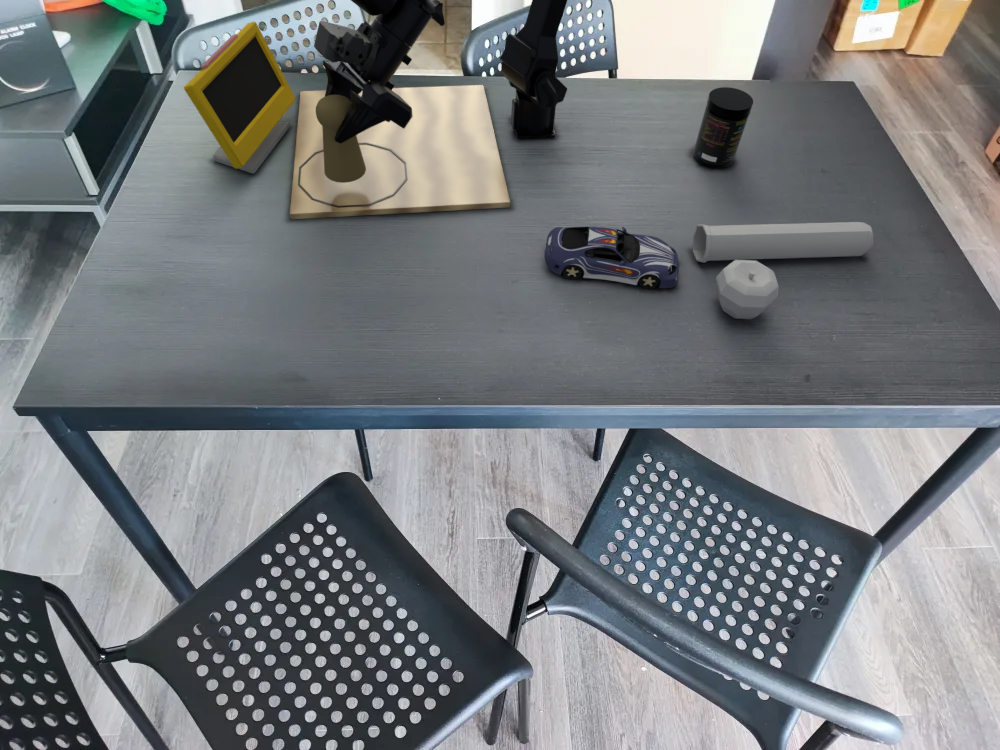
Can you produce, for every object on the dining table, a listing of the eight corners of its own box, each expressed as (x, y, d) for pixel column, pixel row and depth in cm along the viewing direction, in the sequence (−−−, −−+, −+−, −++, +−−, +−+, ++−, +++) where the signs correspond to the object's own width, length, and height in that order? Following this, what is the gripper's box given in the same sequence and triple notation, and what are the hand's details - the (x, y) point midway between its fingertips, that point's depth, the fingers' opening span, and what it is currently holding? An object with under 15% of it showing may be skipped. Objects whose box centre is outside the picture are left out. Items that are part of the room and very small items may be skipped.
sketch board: (483, 89, 126) (483, 84, 125) (510, 207, 105) (510, 201, 104) (301, 96, 123) (300, 90, 122) (290, 219, 101) (289, 213, 101)
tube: (865, 213, 101) (696, 218, 98) (886, 227, 96) (709, 231, 94) (854, 249, 103) (690, 254, 101) (874, 263, 99) (703, 268, 96)
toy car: (677, 293, 94) (685, 265, 91) (540, 276, 96) (543, 247, 92) (676, 255, 99) (684, 227, 96) (546, 239, 101) (549, 210, 97)
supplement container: (737, 153, 116) (757, 93, 108) (728, 174, 112) (748, 114, 104) (697, 142, 118) (714, 83, 110) (687, 163, 114) (704, 103, 106)
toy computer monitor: (248, 187, 106) (219, 88, 94) (199, 179, 107) (165, 79, 95) (300, 117, 118) (280, 22, 106) (256, 111, 119) (232, 15, 107)
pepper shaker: (334, 155, 105) (321, 85, 96) (372, 162, 104) (362, 92, 96) (317, 178, 101) (302, 108, 93) (356, 185, 100) (345, 115, 92)
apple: (695, 295, 94) (708, 258, 89) (745, 282, 96) (760, 245, 91) (728, 337, 90) (744, 301, 85) (779, 322, 92) (798, 286, 87)
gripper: (316, -31, 91) (255, 73, 96) (381, 28, 81) (309, 141, 86) (378, 18, 100) (319, 111, 104) (443, 76, 90) (375, 176, 95)
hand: (329, 132), depth 97 cm, fingers closed on pepper shaker, 5 cm apart
